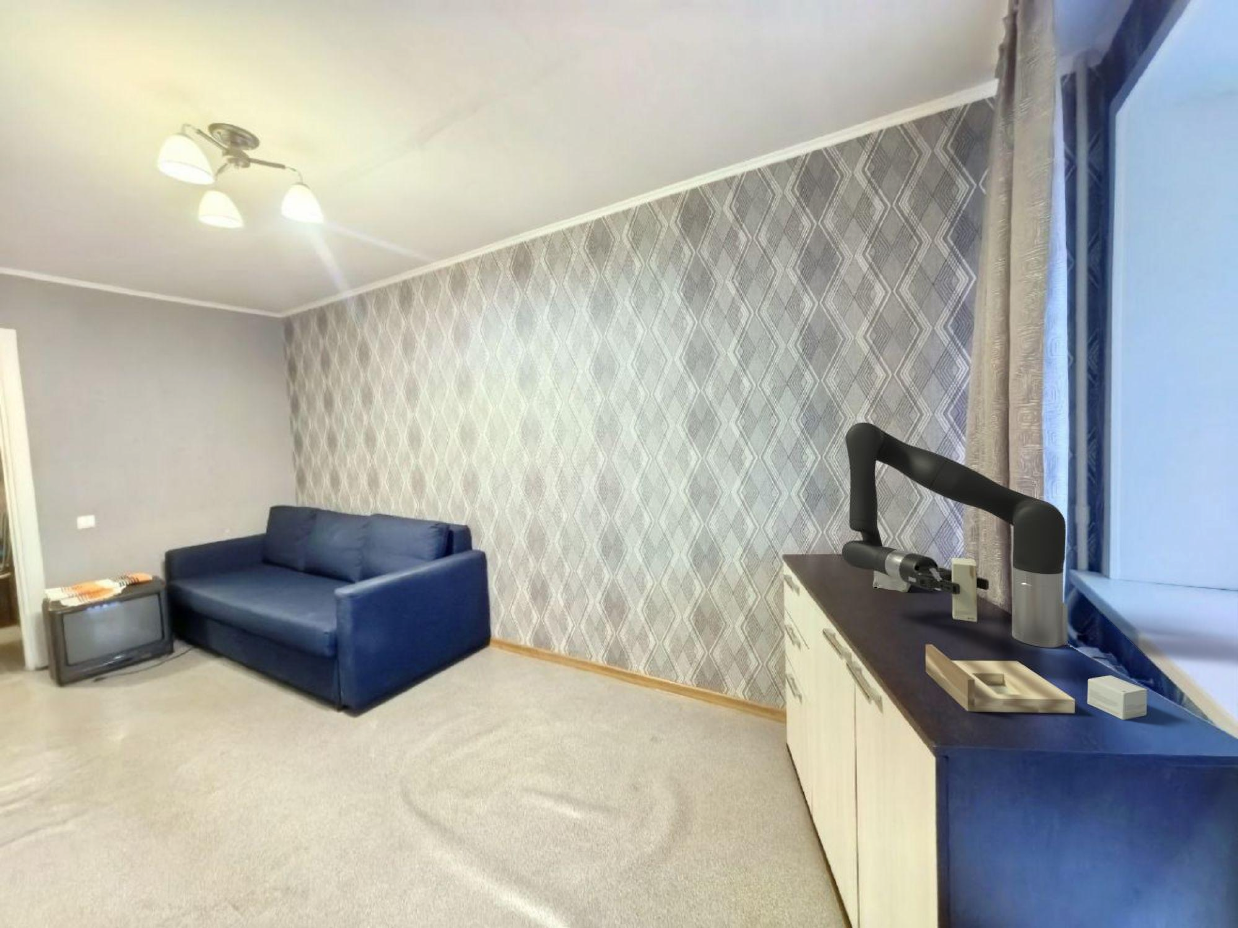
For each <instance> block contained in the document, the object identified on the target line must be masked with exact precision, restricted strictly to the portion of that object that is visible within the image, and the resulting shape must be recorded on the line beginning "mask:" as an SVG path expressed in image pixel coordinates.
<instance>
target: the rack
mask: <svg viewBox="0 0 1238 928" xmlns="http://www.w3.org/2000/svg"><path fill="white" fill-rule="evenodd" d="M925 673H926V674H927V675H929V677H930V678H931V679H933V680H934V681H935V682H936V683H937V684H938V685H939V686H940V687H941V688H942V689H943V690H944V691H945V692H946V693H947V694H948V695H949V696H951V698H952V699H954V700H955V701H956V702H957V703H958V704H959V705H960V706H961V707H962V708H963V709H965V711H967V712H986V713H987V712H988V713H989V712H991V713H1043V714H1045V713H1046V714H1048V713H1049V714H1050V713H1053V714H1054V713H1055V714H1057V713H1058V714H1075V710H1076V708H1075V707H1076V699H1075V698H1073V697H1072V696H1070V695H1069V694H1068V693H1066V692H1064V691H1063V690H1061V689H1060V688H1058V686H1055V685H1054V684H1053V683H1052V682H1051V683H1050V682H1049V681H1048V680H1046V679H1045V678H1043V677H1042V676H1040V675H1039V674H1037V673H1036V672H1034V671H1033V670H1031V669H1029V668H1028V667H1027V666H1025V665H1024V664H1022V663H1020V662H1019V661H1018V660H951V659H950V658H949V657H948V656H946V655H945V654H944V653H943V652H941V651H940V650H939V649H938V648H937V647H936V646H934V644H925Z"/></svg>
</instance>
